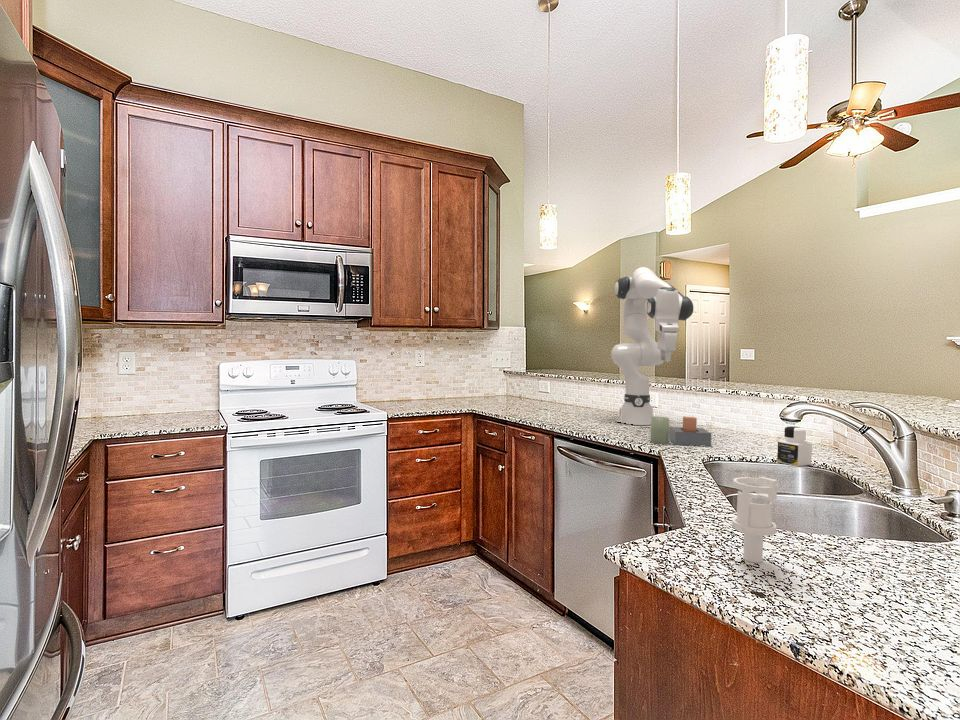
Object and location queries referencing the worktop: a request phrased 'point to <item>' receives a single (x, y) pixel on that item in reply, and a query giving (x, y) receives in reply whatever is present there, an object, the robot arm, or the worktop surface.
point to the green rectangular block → (659, 430)
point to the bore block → (689, 436)
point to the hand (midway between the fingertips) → (665, 361)
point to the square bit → (689, 423)
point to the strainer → (755, 514)
